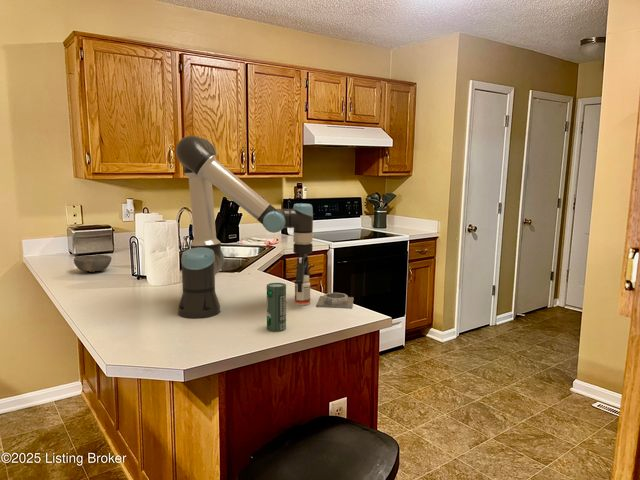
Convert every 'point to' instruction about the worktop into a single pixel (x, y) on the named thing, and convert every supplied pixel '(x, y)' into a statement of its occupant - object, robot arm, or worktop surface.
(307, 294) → the pill bottle
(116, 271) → the worktop surface
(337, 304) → the duct flange
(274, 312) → the can
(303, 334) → the worktop surface
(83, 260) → the bowl
